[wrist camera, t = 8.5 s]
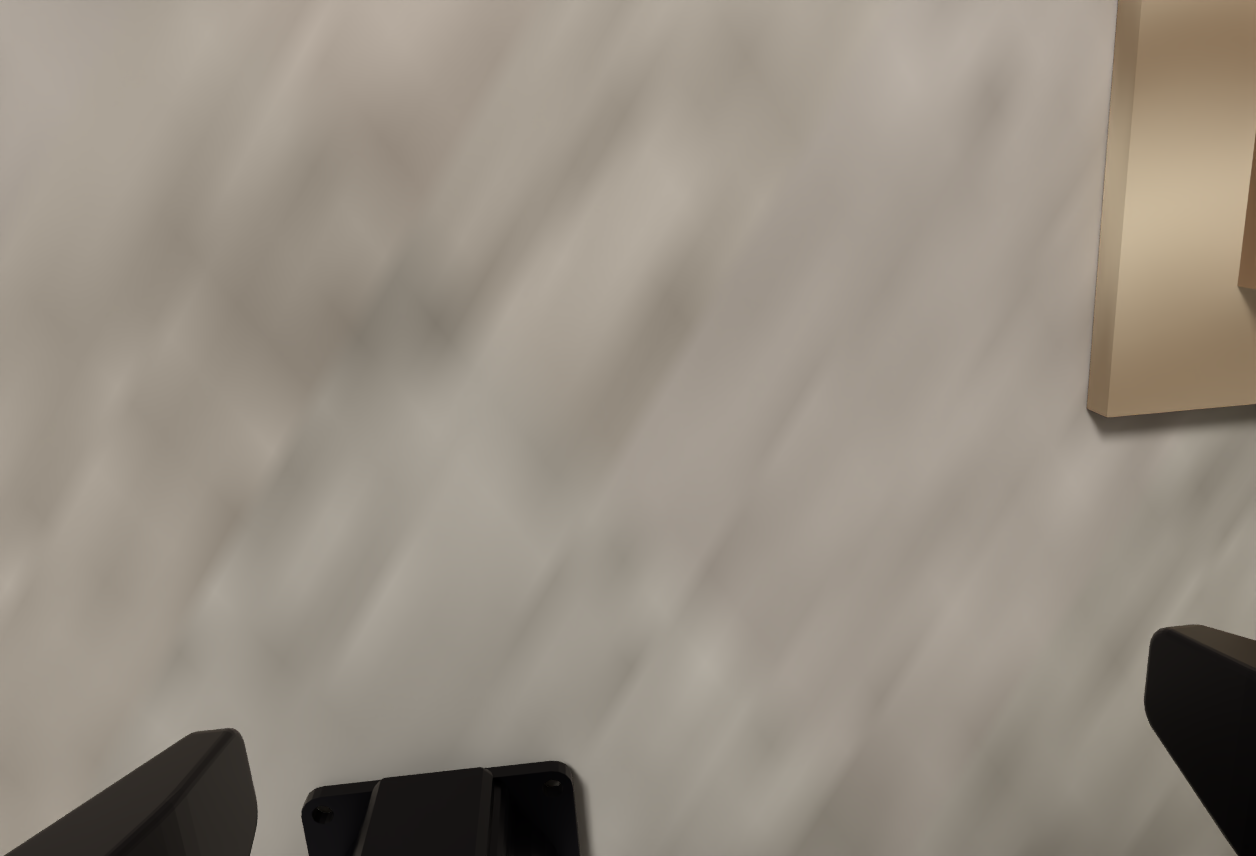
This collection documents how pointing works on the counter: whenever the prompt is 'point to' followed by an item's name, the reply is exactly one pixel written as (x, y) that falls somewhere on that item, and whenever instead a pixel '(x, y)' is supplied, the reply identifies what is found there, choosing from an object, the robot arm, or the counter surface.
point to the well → (1178, 212)
